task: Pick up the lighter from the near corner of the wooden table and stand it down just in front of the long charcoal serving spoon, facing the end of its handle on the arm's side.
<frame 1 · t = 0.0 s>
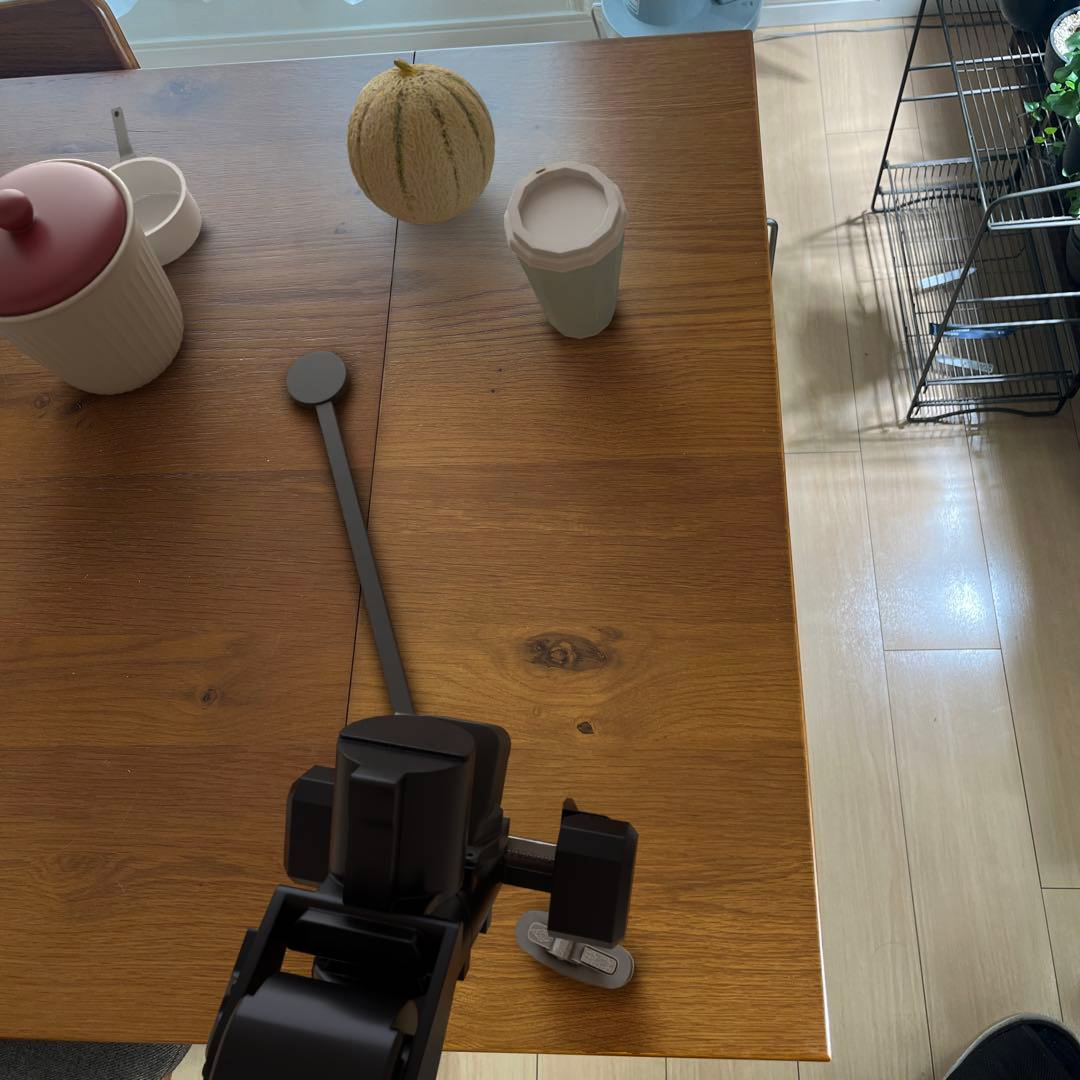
hand: (495, 791, 59), 16 cm above the table, tool tilted 35°, fingers open, 9 cm apart
canister: (129, 349, 99), on the table
saucepan: (153, 209, 106), on the table
cantaloupe: (438, 200, 102), on the table
disposable coffee cup: (578, 315, 94), on the table
lighter: (581, 950, 70), on the table
spoon: (320, 383, 94), on the table
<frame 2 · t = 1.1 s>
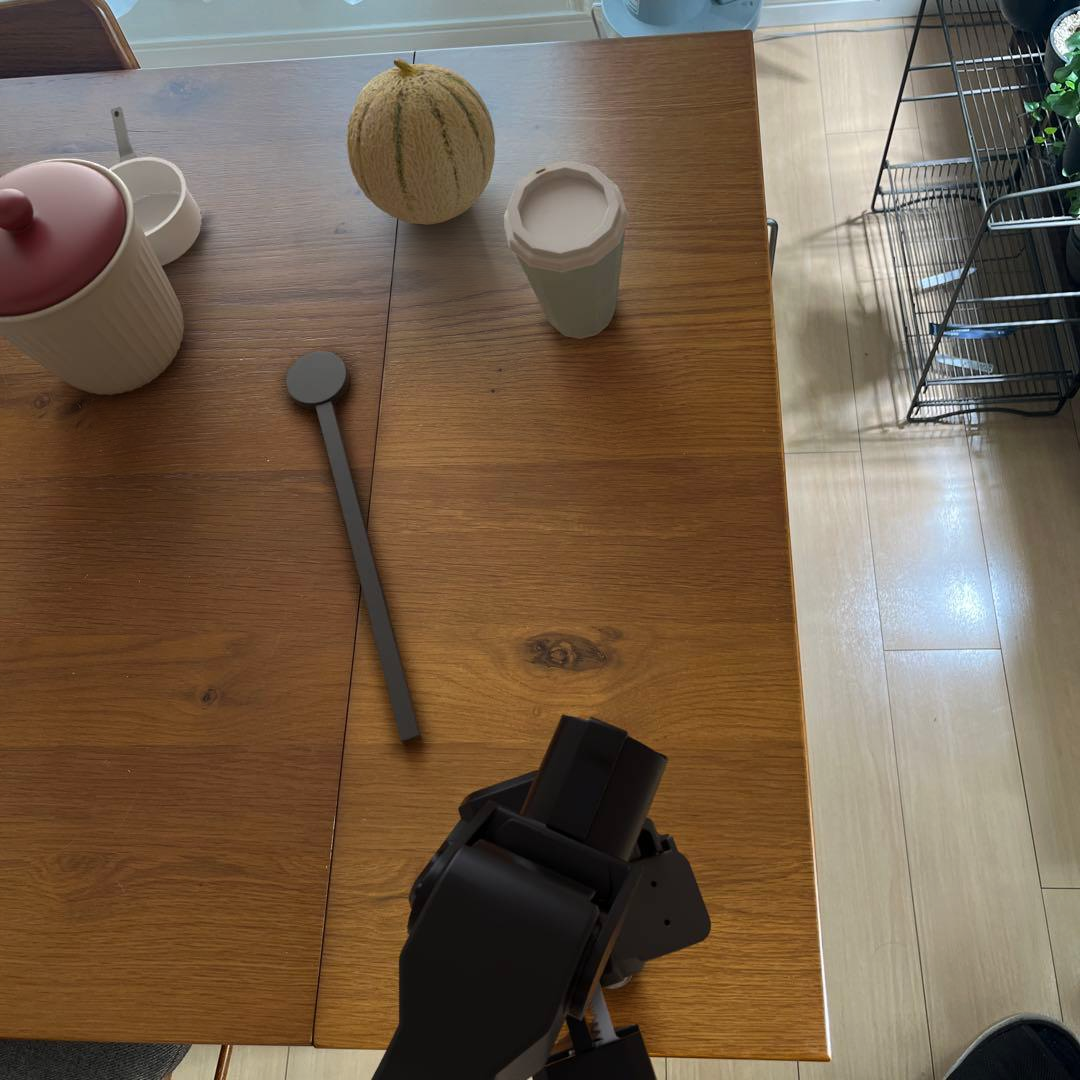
hand: (568, 948, 61), 10 cm above the table, tool pointing down, fingers open, 9 cm apart
nothing on the table moved.
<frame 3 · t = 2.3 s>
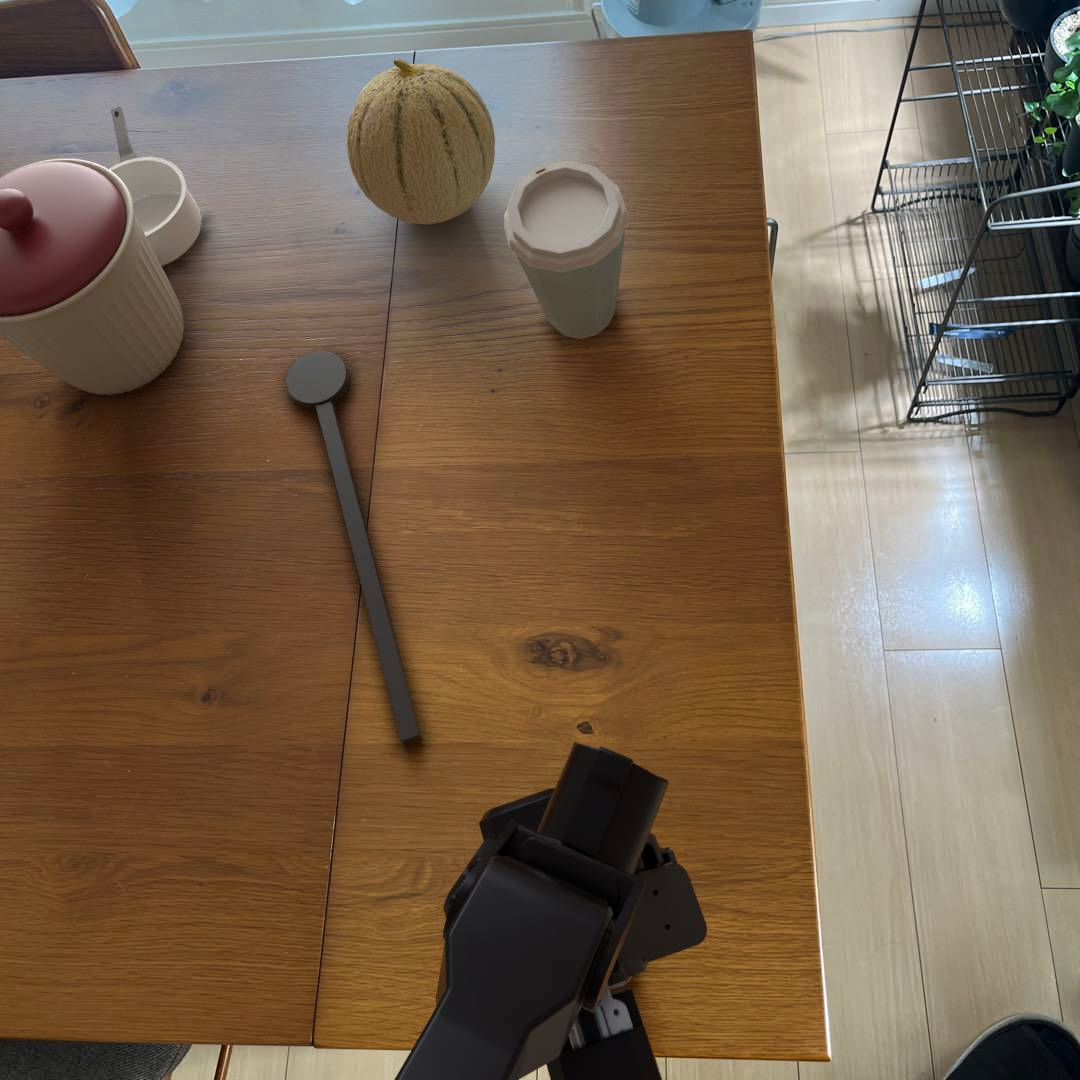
hand: (577, 949, 67), 3 cm above the table, tool pointing down, fingers closed on lighter, 5 cm apart
lighter: (581, 950, 70), on the table, touching gripper
everything else where it was.
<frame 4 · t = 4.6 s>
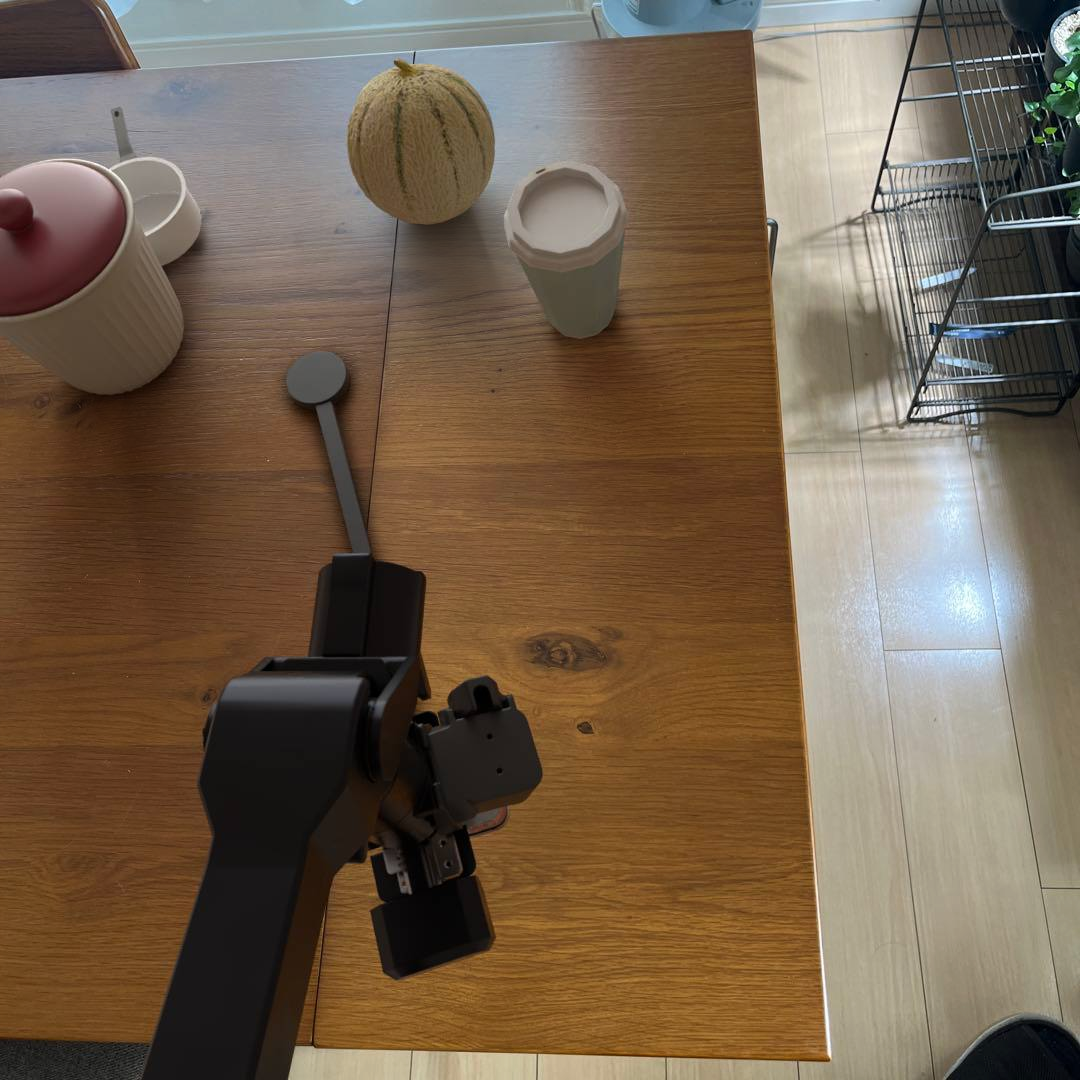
hand: (434, 819, 64), 11 cm above the table, tool pointing down, fingers closed on lighter, 3 cm apart
lighter: (453, 816, 67), point 8 cm above the table, touching gripper
everything else where it was.
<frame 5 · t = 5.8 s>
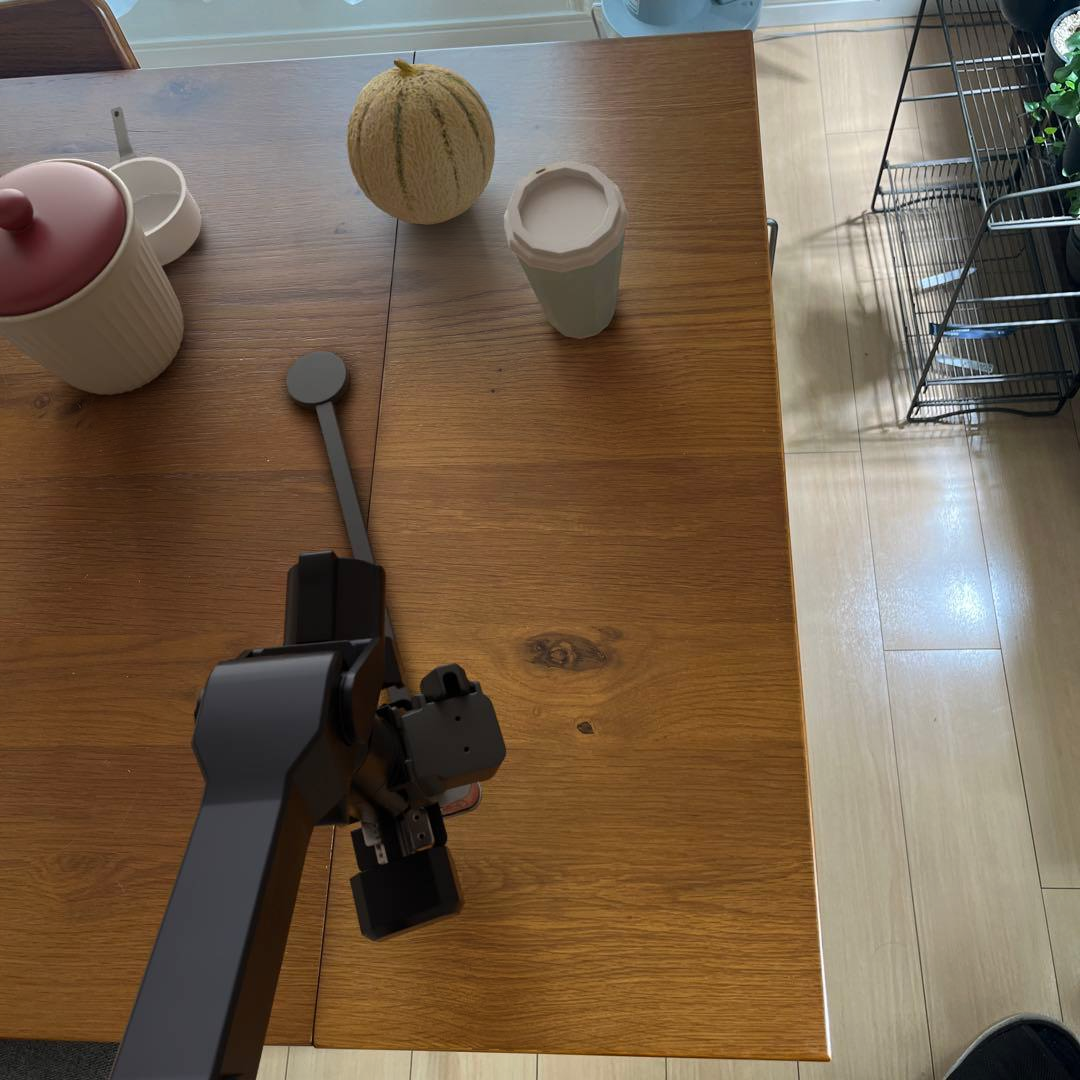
hand: (411, 801, 69), 7 cm above the table, tool pointing down, fingers closed on lighter, 3 cm apart
lighter: (429, 799, 73), point 3 cm above the table, touching gripper
everything else where it was.
when the fingers open (4 cm above the table, at t = 6.8 s): lighter stays where it is, on the table.
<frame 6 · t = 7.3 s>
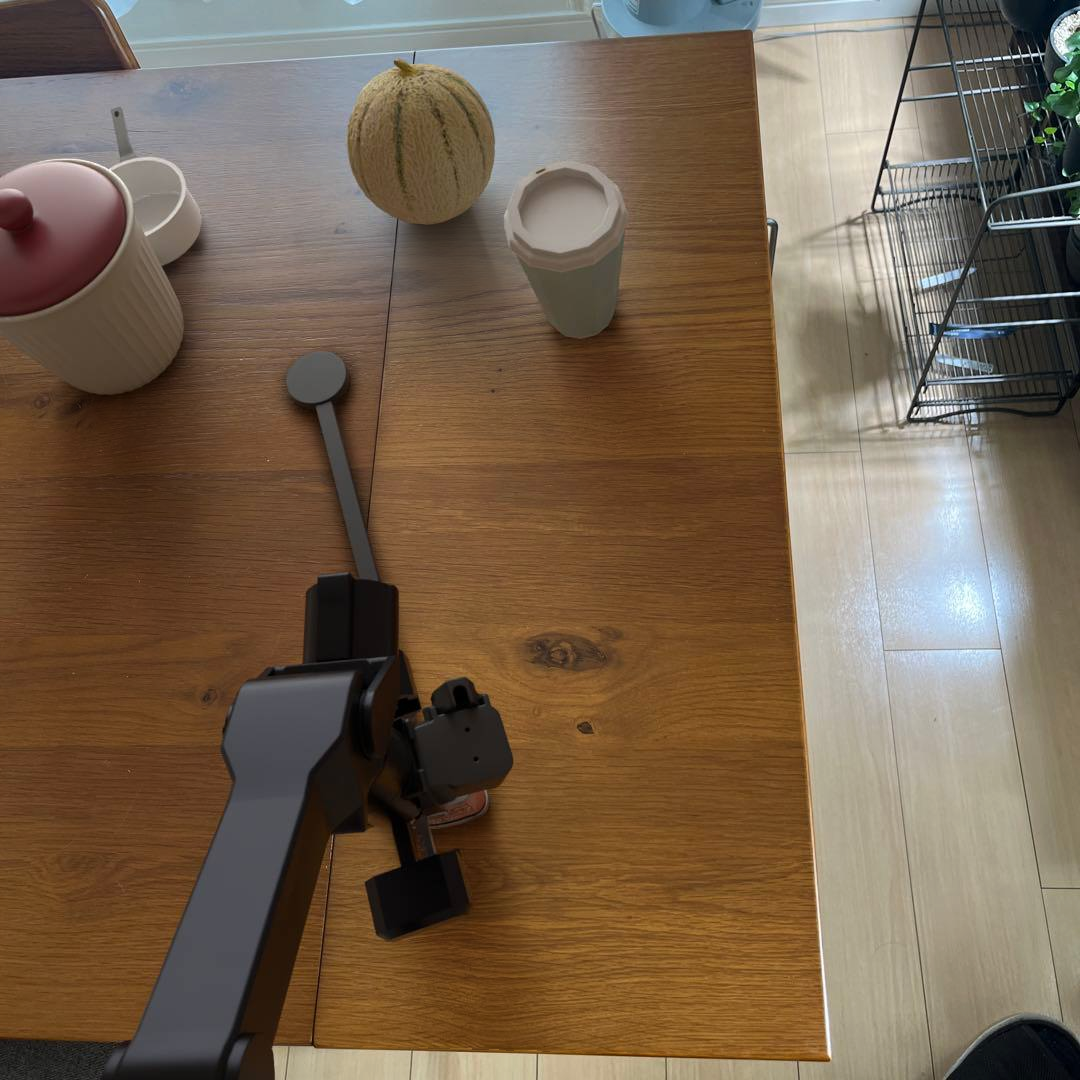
hand: (421, 806, 72), 3 cm above the table, tool pointing down, fingers open, 8 cm apart
lighter: (439, 806, 76), on the table
everything else where it was.
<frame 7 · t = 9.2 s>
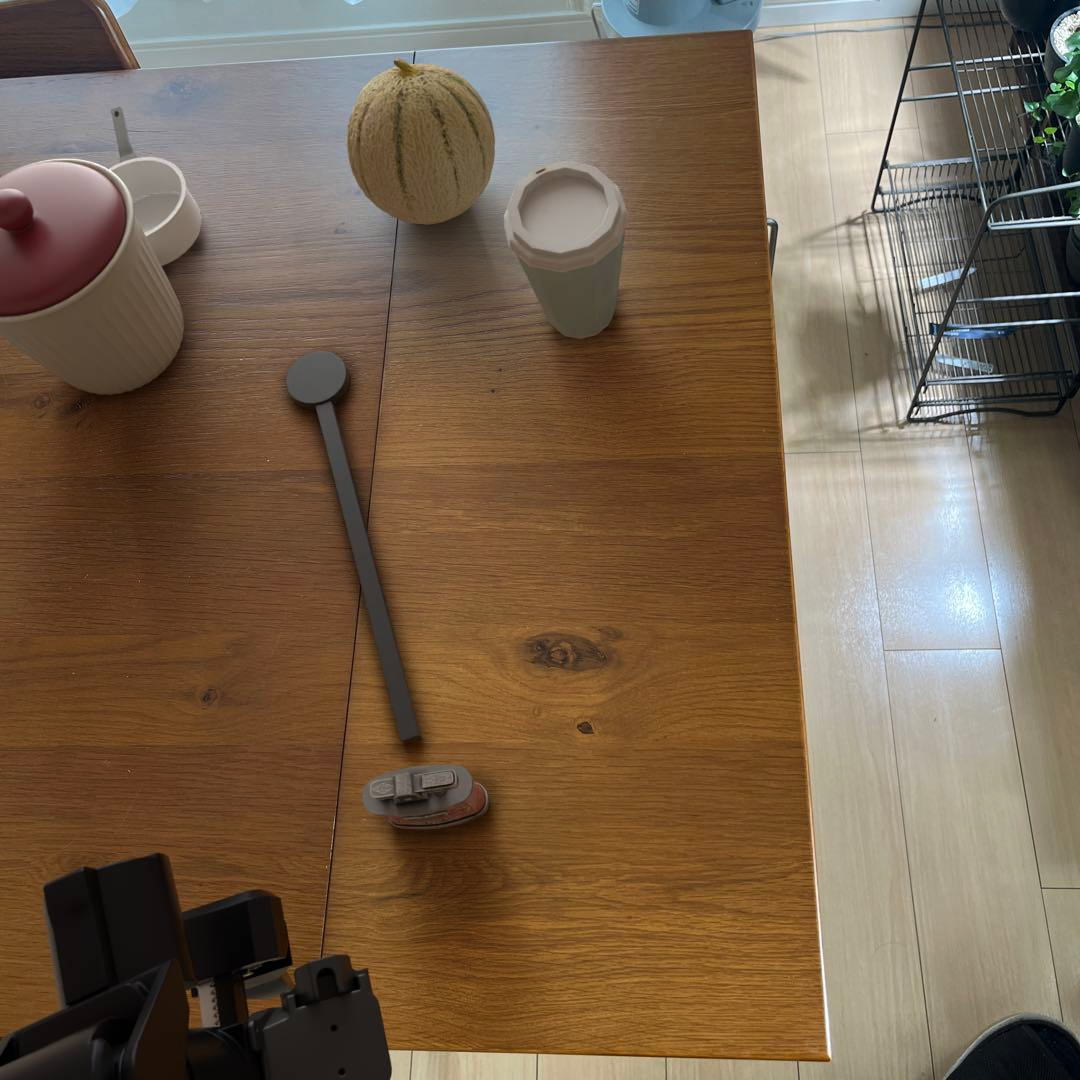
hand: (301, 1071, 58), 12 cm above the table, tool pointing down, fingers open, 9 cm apart
nothing on the table moved.
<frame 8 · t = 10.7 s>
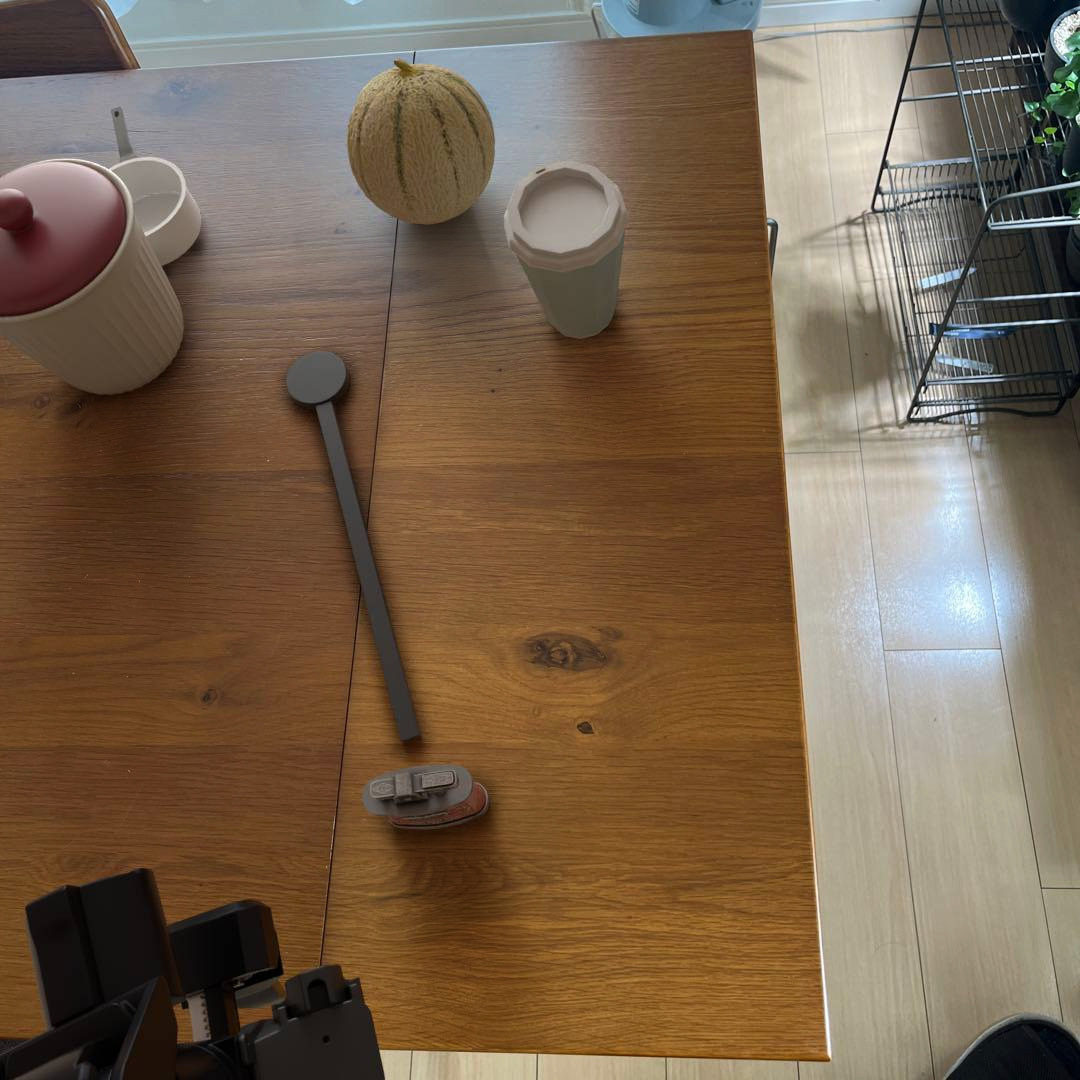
hand: (294, 1079, 58), 12 cm above the table, tool pointing down, fingers open, 9 cm apart
nothing on the table moved.
at the end: lighter inside the target area on the table beside the spoon (0.8 cm from its centre), on the table; lighter tilted 0°; the gripper is holding nothing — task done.
